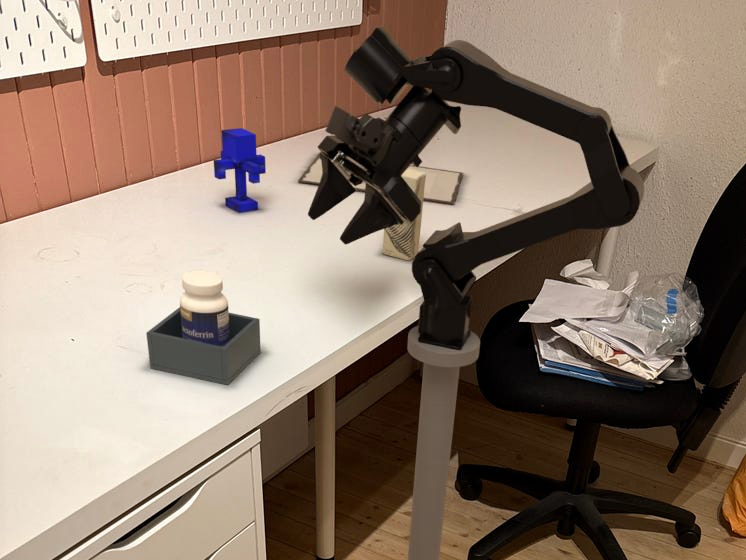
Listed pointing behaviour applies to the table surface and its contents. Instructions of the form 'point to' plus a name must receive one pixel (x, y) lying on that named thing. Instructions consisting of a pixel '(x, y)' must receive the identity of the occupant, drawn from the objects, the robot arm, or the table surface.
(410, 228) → the box
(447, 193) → the picture frame
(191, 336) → the pill bottle
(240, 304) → the table surface
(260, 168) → the figurine
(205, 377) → the bin
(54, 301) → the table surface
